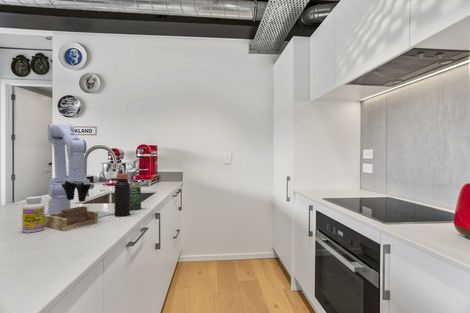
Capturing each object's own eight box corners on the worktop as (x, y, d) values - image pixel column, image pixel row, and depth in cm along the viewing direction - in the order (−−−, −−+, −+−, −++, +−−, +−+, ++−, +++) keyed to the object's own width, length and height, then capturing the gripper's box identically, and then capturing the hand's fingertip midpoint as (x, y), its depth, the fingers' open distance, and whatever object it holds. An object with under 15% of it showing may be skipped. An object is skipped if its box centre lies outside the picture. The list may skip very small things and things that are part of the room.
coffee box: (125, 211, 134) (125, 186, 134) (124, 210, 137) (124, 185, 137) (141, 209, 138) (141, 185, 138) (139, 208, 141) (140, 184, 141)
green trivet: (76, 216, 122) (76, 215, 122) (99, 211, 133) (99, 210, 133) (92, 219, 117) (92, 218, 117) (115, 214, 128) (115, 213, 128)
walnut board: (60, 227, 104) (61, 210, 104) (82, 222, 112) (82, 206, 112) (65, 228, 103) (65, 210, 103) (86, 223, 111) (87, 206, 111)
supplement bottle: (20, 234, 95) (20, 199, 95) (24, 229, 101) (25, 196, 101) (42, 231, 98) (42, 198, 98) (45, 227, 104) (45, 195, 104)
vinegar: (124, 217, 121) (124, 174, 121) (111, 216, 123) (111, 174, 123) (132, 213, 128) (132, 173, 128) (120, 213, 129) (120, 173, 129)
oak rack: (38, 225, 107) (38, 214, 107) (72, 217, 119) (72, 208, 119) (64, 231, 99) (64, 219, 99) (97, 222, 112) (97, 212, 112)
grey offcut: (50, 219, 109) (50, 213, 109) (66, 215, 115) (66, 210, 115) (56, 220, 107) (56, 214, 107) (72, 216, 114) (72, 211, 114)
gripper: (96, 168, 109) (96, 200, 109) (74, 167, 115) (74, 197, 115) (80, 169, 103) (80, 203, 103) (58, 168, 109) (58, 200, 109)
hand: (76, 200), depth 109 cm, fingers open, 7 cm apart
